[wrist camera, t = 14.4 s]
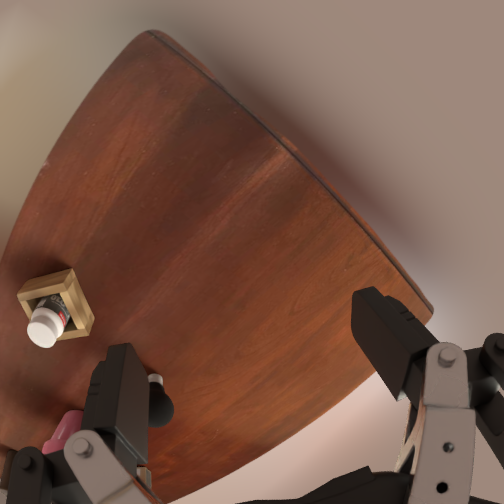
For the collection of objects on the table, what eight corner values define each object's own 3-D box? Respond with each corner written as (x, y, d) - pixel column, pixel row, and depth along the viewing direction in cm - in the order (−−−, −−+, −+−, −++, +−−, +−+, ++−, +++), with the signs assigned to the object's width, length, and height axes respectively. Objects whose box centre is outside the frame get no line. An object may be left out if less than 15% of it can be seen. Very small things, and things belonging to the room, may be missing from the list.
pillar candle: (16, 448, 50) (6, 492, 37) (43, 466, 55) (37, 509, 41) (2, 451, 51) (-8, 492, 37) (28, 468, 55) (21, 508, 42)
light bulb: (140, 386, 47) (136, 434, 38) (135, 361, 44) (129, 411, 35) (174, 386, 48) (176, 434, 39) (171, 362, 45) (172, 412, 37)
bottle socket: (27, 279, 35) (16, 294, 32) (72, 267, 36) (63, 282, 33) (50, 326, 39) (42, 343, 35) (94, 318, 40) (88, 335, 36)
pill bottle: (81, 302, 38) (65, 340, 31) (62, 318, 39) (45, 355, 31) (59, 278, 36) (37, 313, 29) (40, 295, 37) (18, 330, 29)
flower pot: (40, 400, 45) (25, 452, 33) (99, 399, 46) (90, 458, 35) (72, 440, 51) (65, 487, 39) (128, 440, 53) (126, 491, 41)
